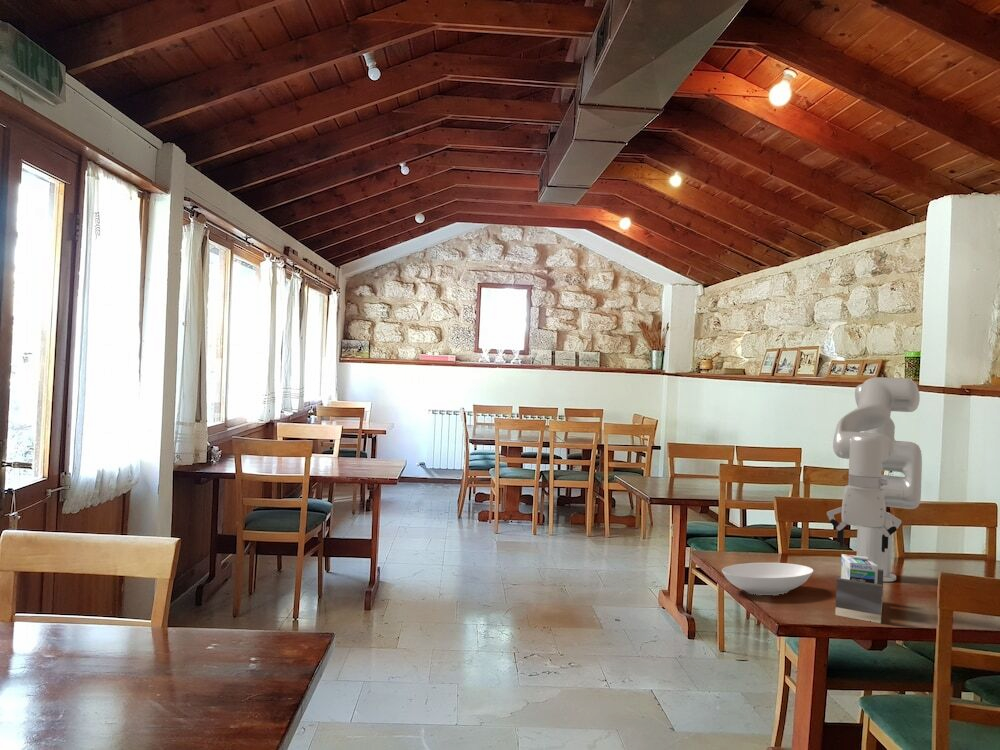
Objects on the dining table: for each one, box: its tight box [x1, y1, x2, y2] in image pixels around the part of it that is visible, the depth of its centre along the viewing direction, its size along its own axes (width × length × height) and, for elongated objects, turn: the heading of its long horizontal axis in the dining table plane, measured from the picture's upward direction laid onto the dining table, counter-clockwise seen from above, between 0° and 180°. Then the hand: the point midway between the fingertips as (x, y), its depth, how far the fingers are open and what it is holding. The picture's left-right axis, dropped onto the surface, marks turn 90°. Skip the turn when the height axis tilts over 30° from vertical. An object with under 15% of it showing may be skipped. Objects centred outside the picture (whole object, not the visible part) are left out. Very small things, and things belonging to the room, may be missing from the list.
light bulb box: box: [840, 553, 878, 584], centre depth 182 cm, size 11×7×11 cm, turn 165°
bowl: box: [721, 562, 814, 596], centre depth 194 cm, size 30×15×6 cm, turn 114°
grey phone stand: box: [834, 569, 884, 624], centre depth 181 cm, size 20×10×9 cm, turn 150°
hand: (862, 548), depth 182 cm, fingers open, 9 cm apart
